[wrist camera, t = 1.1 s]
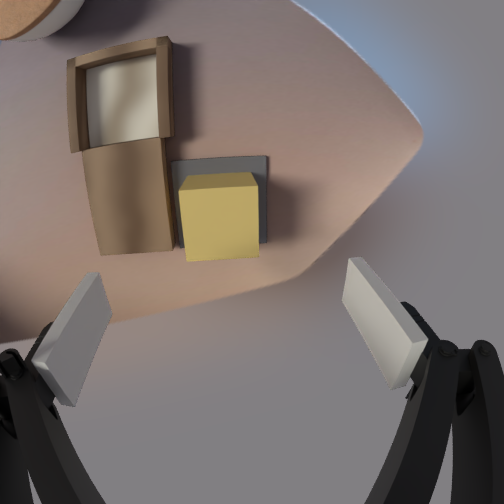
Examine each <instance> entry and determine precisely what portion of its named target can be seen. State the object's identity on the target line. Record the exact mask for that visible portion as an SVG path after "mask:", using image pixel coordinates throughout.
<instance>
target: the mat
mask: <svg viewBox="0 0 504 504" xmlns="http://www.w3.org/2000/svg"><path fill="white" fill-rule="evenodd" d="M171 170H172V181H173V191H174V201H175V210H176V219H177V227H178V235H179V243H180V248H185V245H184V237H183V228H182V220H181V211H180V201H179V189H180V187H181V186H182V184H183V182H184V181H185V179H186V177H187V176H190V175H203V174H219V173H237V172H251V174H252V175H253V177H254V179H255V181H256V183H257V185H258V218H259V243H267V201H266V156H238V157H218V158H203V159H190V160H179V161H171Z"/></svg>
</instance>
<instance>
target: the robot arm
mask: <svg viewBox="0 0 504 504" xmlns="http://www.w3.org/2000/svg"><path fill="white" fill-rule="evenodd" d="M342 302H343V304H344V305H345V307H346V309H347V311H348V312H349V314H350V316H351V317H352V319H353V321H354V323H355V324H356V326H357V328H358V330H359V332H360V333H361V335H362V337H363V339H364V341H365V343H366V344H367V346H368V348H369V350H370V352H371V353H372V356H373V357H374V359H375V361H376V363H377V365H378V367H379V369H380V371H381V372H382V374H383V376H384V378H385V380H386V382H387V384H388V386H389V388H390V390H393V389H396V388H400V387H403V386H406V384H407V382H408V380H409V378H410V377H411V379H412V380H413V382H414V384H413V386H412V388H411V389H410V391H409V393H408V394H407V396H406V399H408V401H407V404H406V407H405V410H404V413H403V416H402V419H401V422H400V425H399V428H398V430H397V433H396V436H395V438H394V441H393V443H392V446H391V449H390V451H389V453H388V456H387V458H386V460H385V463H384V465H383V467H382V469H381V471H380V474H379V476H378V478H377V480H376V482H375V484H374V486H373V488H372V490H371V492H370V494H369V496H368V498H367V500H366V502H365V504H429V502H430V499H431V497H432V494H433V491H434V488H435V485H436V482H437V479H438V476H439V473H440V469H441V466H442V462H443V458H444V454H445V451H446V447H447V442H448V438H449V433H450V429H451V424H452V434H453V473H452V491H451V502H450V504H504V374H503V371H502V367H501V364H500V361H499V358H498V355H497V352H496V349H495V348H494V346H493V345H492V344H491V343H489V342H487V341H485V340H477V341H476V342H475V343H474V345H473V346H472V348H471V349H458V347H457V346H456V345H455V344H453V343H452V342H450V341H447V340H440V339H439V338H438V336H437V335H436V334H435V333H434V331H433V330H432V329H431V327H430V326H429V325H428V324H427V322H425V321H424V319H423V317H422V316H420V314H419V313H418V312H417V310H416V309H415V308H414V307H413V306H411V305H410V304H409V303H407V302H399V301H398V300H397V298H396V297H395V296H394V295H393V293H392V292H391V291H390V290H389V288H388V287H387V286H386V285H385V284H384V282H383V281H382V280H381V279H380V278H379V277H378V275H377V274H376V273H375V272H374V271H373V270H372V268H371V267H370V266H369V265H368V264H367V263H366V261H365V260H364V259H363V258H362V257H354V258H349V260H348V267H347V274H346V280H345V286H344V292H343V298H342ZM111 316H112V311H111V308H110V305H109V302H108V299H107V296H106V293H105V290H104V286H103V283H102V280H101V276H100V273H99V272H93V273H87V274H86V275H85V277H84V278H83V280H82V281H81V282H80V284H79V285H78V287H77V288H76V289H75V291H74V292H73V294H72V295H71V297H70V298H69V300H68V301H67V303H66V304H65V306H64V307H63V309H62V310H61V312H60V313H59V315H58V316H57V318H56V319H55V321H54V322H50V323H49V324H48V325H47V326H46V327H45V328H44V329H43V330H42V332H41V333H40V335H39V338H37V340H36V341H35V344H34V345H33V347H32V348H31V350H30V351H29V353H28V355H27V357H26V358H25V360H24V361H23V359H22V357H21V356H20V354H19V352H18V351H17V350H16V349H7V350H5V351H3V352H2V353H1V354H0V373H1V374H2V375H1V376H0V504H34V503H33V499H32V493H31V488H30V482H29V477H28V471H29V474H30V477H31V479H32V482H33V484H34V487H35V489H36V492H37V494H38V496H39V498H40V501H41V503H42V504H106V503H105V502H104V500H103V498H102V497H101V495H100V494H99V492H98V491H97V489H96V487H95V486H94V484H93V482H92V481H91V479H90V477H89V475H88V474H87V472H86V470H85V468H84V467H83V465H82V463H81V461H80V459H79V457H78V455H77V453H76V451H75V449H74V447H73V445H72V443H71V441H70V439H69V437H68V434H67V432H66V430H65V428H64V426H63V423H62V421H61V418H60V416H59V413H58V411H57V408H56V407H55V405H54V403H53V400H54V398H55V397H56V398H57V399H58V401H59V402H60V403H61V404H62V405H66V406H72V407H75V405H76V403H77V400H78V397H79V394H80V391H81V389H82V386H83V383H84V381H85V378H86V375H87V373H88V370H89V368H90V365H91V362H92V360H93V358H94V355H95V353H96V350H97V348H98V345H99V343H100V341H101V338H102V336H103V334H104V332H105V329H106V327H107V325H108V323H109V321H110V318H111ZM27 469H28V470H27Z"/></svg>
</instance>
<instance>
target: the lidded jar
mask: <svg viewBox="0 0 504 504" xmlns="http://www.w3.org/2000/svg"><path fill="white" fill-rule="evenodd" d="M84 1H85V0H0V40H8V41H17V42H26V41H34V40H38V39H41V38H44V37H47V36H49V35H51V34H53V33H54V32H56V31H58V30H59V29H61V28H62V27H63V26H65V25H66V24H67V23H68V22H69V21H70V20H71V19H72V18H73V17H74V16H75V15H76V14H77V12H78V11H79V9H80V8H81V6H82V5H83V3H84Z"/></svg>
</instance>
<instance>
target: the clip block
mask: <svg viewBox="0 0 504 504" xmlns="http://www.w3.org/2000/svg"><path fill="white" fill-rule="evenodd" d="M179 201H180V211H181V220H182V228H183V237H184V245H185V252H186V260H187V262H188V261H204V260H221V259H237V258H253V257H259V218H258V185H257V183H256V181H255V179H254V177H253V175H252V174H251V172H237V173H219V174H203V175H190V176H187V177H186V179H185V181H184V182H183V184H182V186H181V187H180V189H179Z"/></svg>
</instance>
